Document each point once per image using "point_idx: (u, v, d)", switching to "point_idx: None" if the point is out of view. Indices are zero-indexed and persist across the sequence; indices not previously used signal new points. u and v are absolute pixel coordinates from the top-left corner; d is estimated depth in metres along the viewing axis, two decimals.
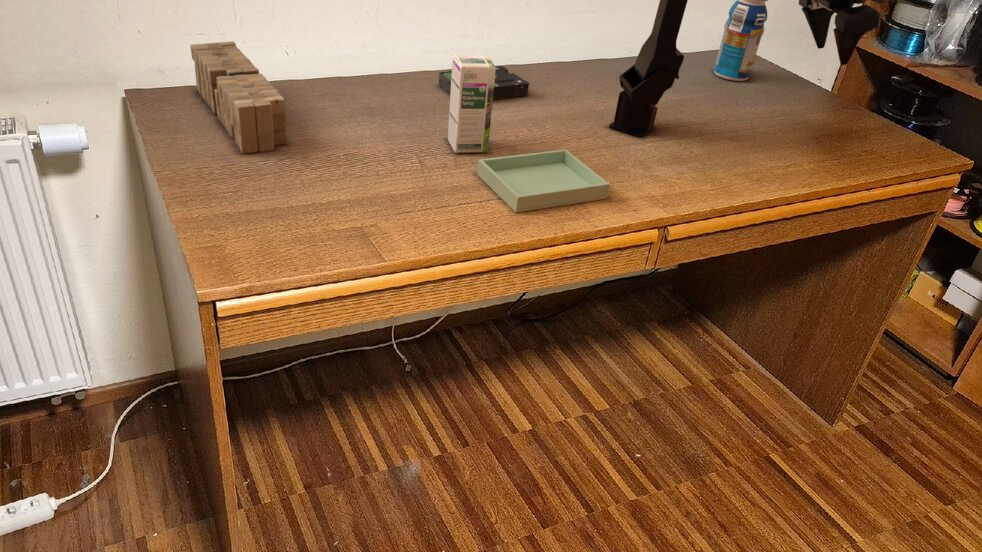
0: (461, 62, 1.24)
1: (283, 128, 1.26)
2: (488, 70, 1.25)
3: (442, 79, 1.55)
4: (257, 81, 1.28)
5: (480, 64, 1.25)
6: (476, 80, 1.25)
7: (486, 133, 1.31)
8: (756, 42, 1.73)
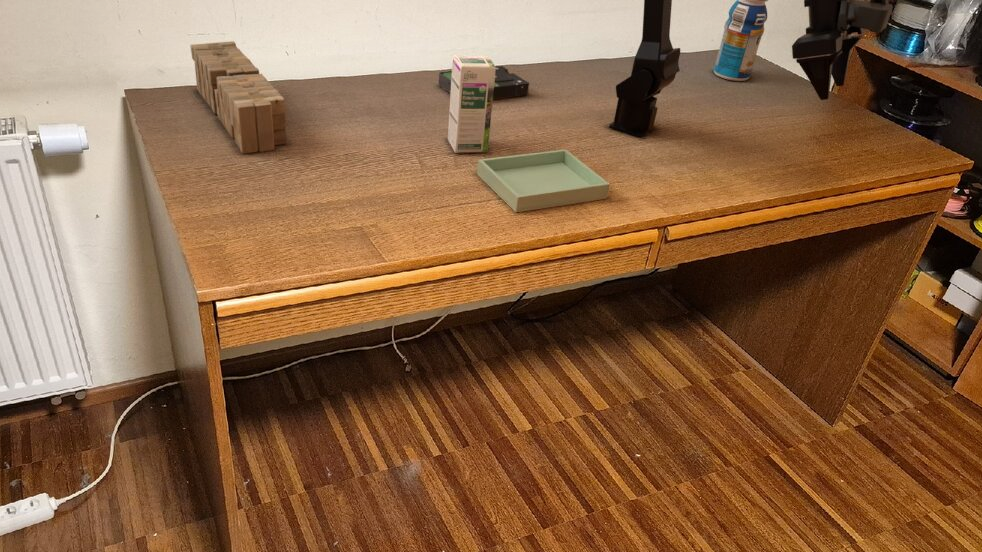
0: (461, 62, 1.24)
1: (283, 128, 1.26)
2: (488, 70, 1.25)
3: (442, 79, 1.55)
4: (257, 81, 1.28)
5: (480, 64, 1.25)
6: (476, 80, 1.25)
7: (486, 133, 1.31)
8: (756, 42, 1.73)
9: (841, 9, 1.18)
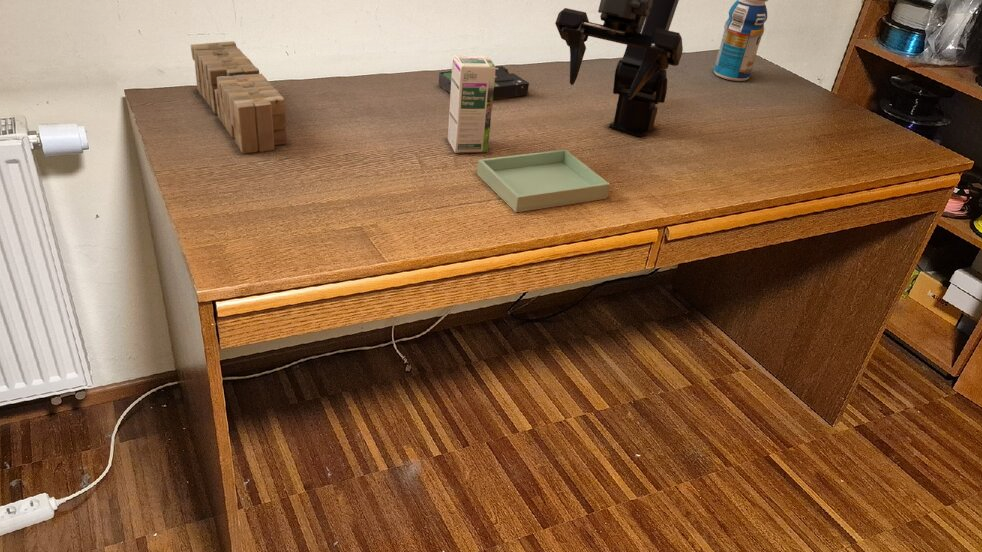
0: (461, 62, 1.24)
1: (283, 128, 1.26)
2: (488, 70, 1.25)
3: (442, 80, 1.55)
4: (257, 81, 1.28)
5: (480, 64, 1.25)
6: (476, 80, 1.25)
7: (486, 133, 1.31)
8: (756, 42, 1.73)
9: None
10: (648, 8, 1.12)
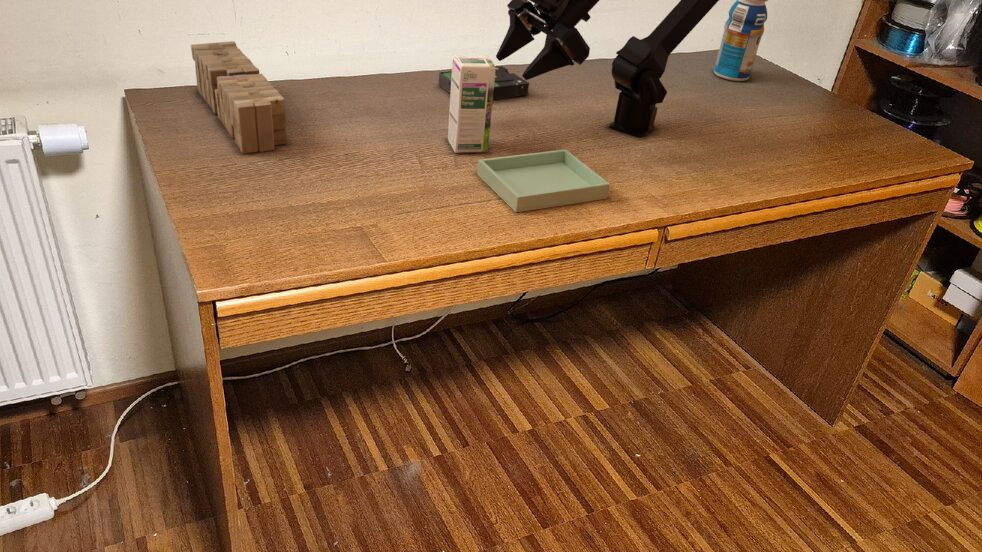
0: (461, 62, 1.24)
1: (283, 128, 1.26)
2: (488, 70, 1.25)
3: (442, 80, 1.55)
4: (257, 81, 1.28)
5: (480, 64, 1.25)
6: (476, 80, 1.25)
7: (486, 133, 1.31)
8: (756, 42, 1.73)
9: None
10: None
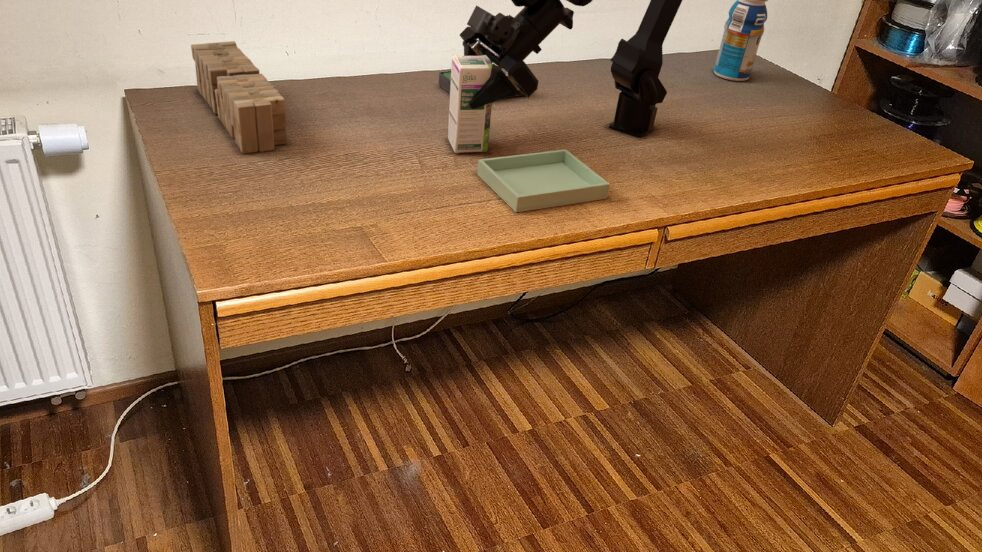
0: (460, 64, 1.24)
1: (283, 128, 1.26)
2: (487, 71, 1.24)
3: (442, 79, 1.55)
4: (257, 81, 1.28)
5: (480, 65, 1.24)
6: (475, 82, 1.25)
7: (486, 133, 1.31)
8: (756, 42, 1.73)
9: None
10: (500, 30, 1.21)
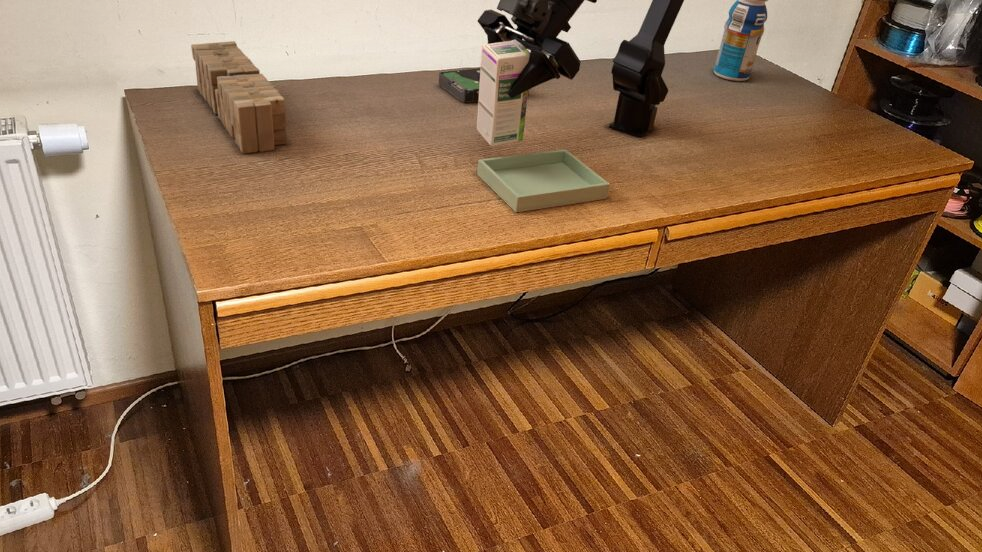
0: (496, 54, 1.16)
1: (283, 128, 1.26)
2: (524, 59, 1.17)
3: (442, 80, 1.54)
4: (257, 81, 1.28)
5: (516, 53, 1.17)
6: (513, 71, 1.18)
7: (522, 122, 1.25)
8: (756, 42, 1.73)
9: None
10: (539, 11, 1.14)
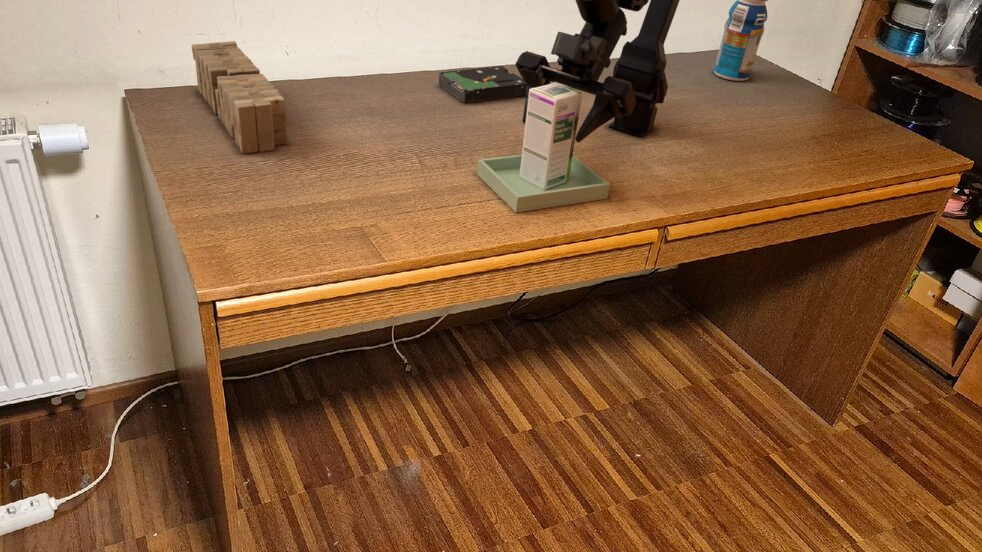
0: (552, 95, 1.15)
1: (283, 128, 1.26)
2: (576, 98, 1.17)
3: (442, 80, 1.54)
4: (257, 81, 1.28)
5: (568, 93, 1.17)
6: (567, 111, 1.17)
7: (569, 162, 1.24)
8: (756, 42, 1.73)
9: None
10: (599, 54, 1.14)
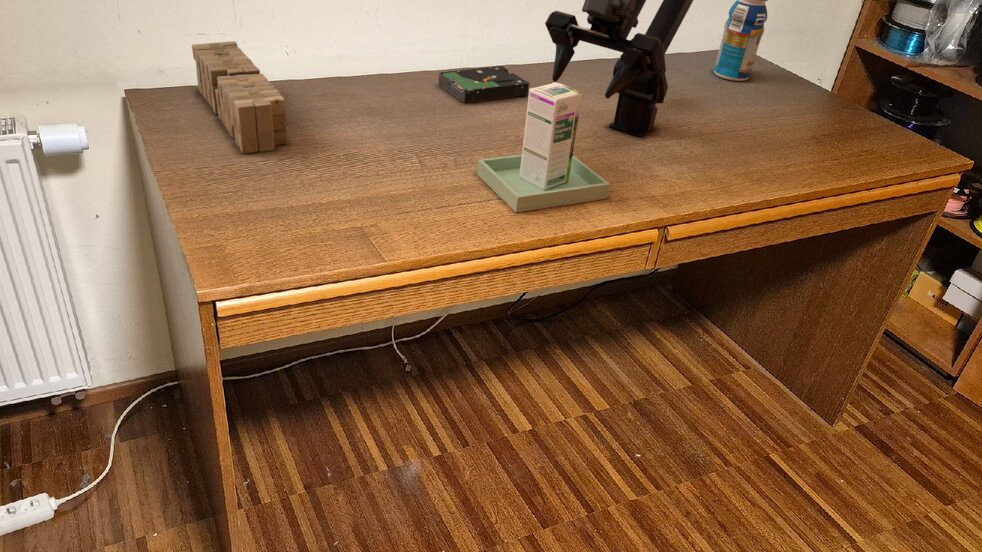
0: (552, 95, 1.15)
1: (283, 128, 1.26)
2: (576, 98, 1.17)
3: (443, 80, 1.54)
4: (257, 81, 1.28)
5: (568, 93, 1.17)
6: (567, 111, 1.17)
7: (569, 162, 1.24)
8: (756, 42, 1.73)
9: None
10: (629, 10, 1.16)
